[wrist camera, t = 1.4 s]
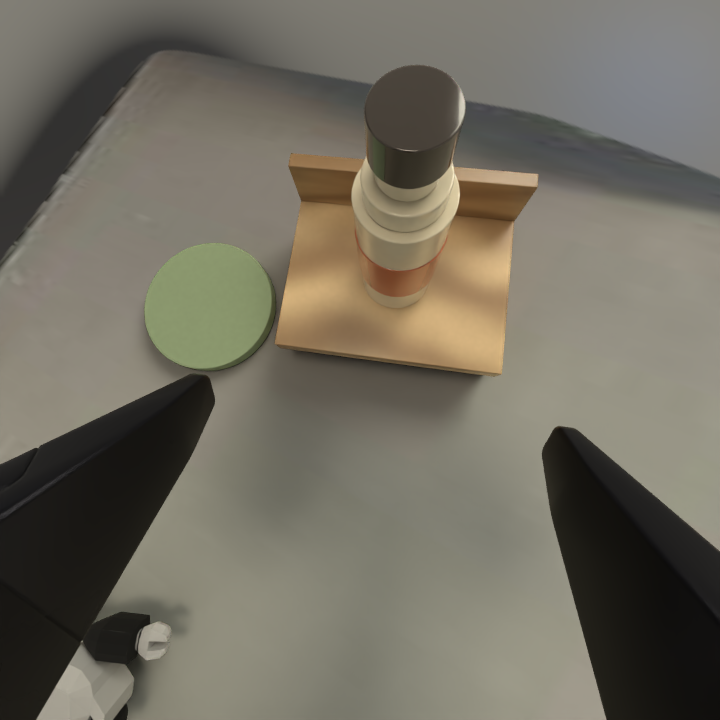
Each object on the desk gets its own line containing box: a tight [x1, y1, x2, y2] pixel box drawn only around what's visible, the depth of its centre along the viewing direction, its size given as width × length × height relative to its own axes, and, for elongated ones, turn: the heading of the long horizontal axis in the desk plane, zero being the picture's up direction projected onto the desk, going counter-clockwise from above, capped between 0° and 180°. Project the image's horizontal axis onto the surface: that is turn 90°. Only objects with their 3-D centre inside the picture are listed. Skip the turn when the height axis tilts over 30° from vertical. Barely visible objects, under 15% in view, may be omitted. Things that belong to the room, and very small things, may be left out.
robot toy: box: [36, 612, 172, 720], centre depth 19 cm, size 12×4×15 cm
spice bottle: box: [351, 65, 466, 308], centre depth 14 cm, size 4×4×11 cm
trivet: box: [144, 243, 276, 371], centre depth 23 cm, size 9×9×1 cm
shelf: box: [275, 153, 538, 377], centre depth 20 cm, size 10×13×6 cm
